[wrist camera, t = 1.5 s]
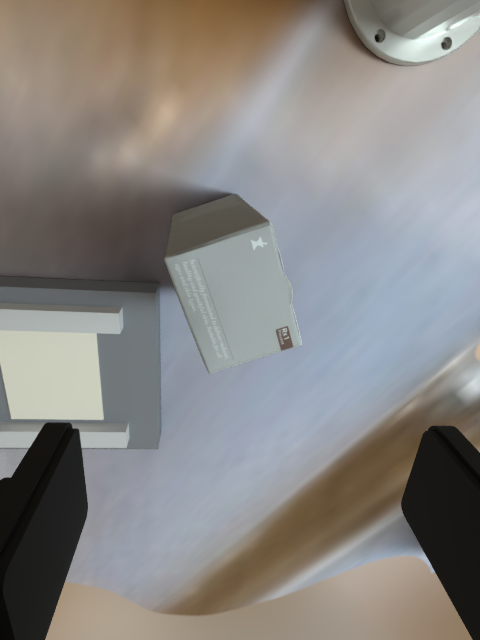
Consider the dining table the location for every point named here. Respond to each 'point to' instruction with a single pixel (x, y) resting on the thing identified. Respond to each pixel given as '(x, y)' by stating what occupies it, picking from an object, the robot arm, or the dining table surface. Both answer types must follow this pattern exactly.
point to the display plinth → (80, 361)
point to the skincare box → (231, 283)
